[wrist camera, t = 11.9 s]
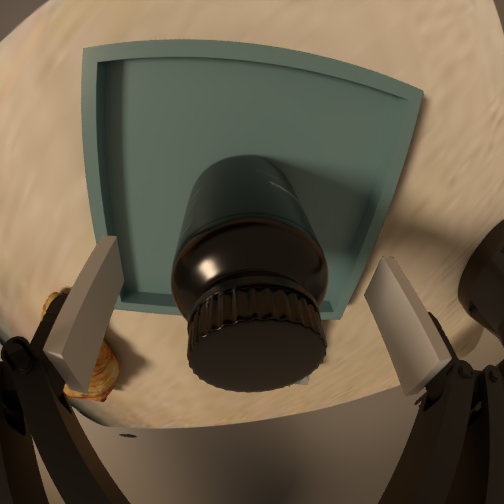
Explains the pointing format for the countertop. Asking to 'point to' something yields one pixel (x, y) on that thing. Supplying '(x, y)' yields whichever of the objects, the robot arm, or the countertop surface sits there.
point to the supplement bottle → (249, 279)
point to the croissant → (95, 370)
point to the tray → (237, 148)
